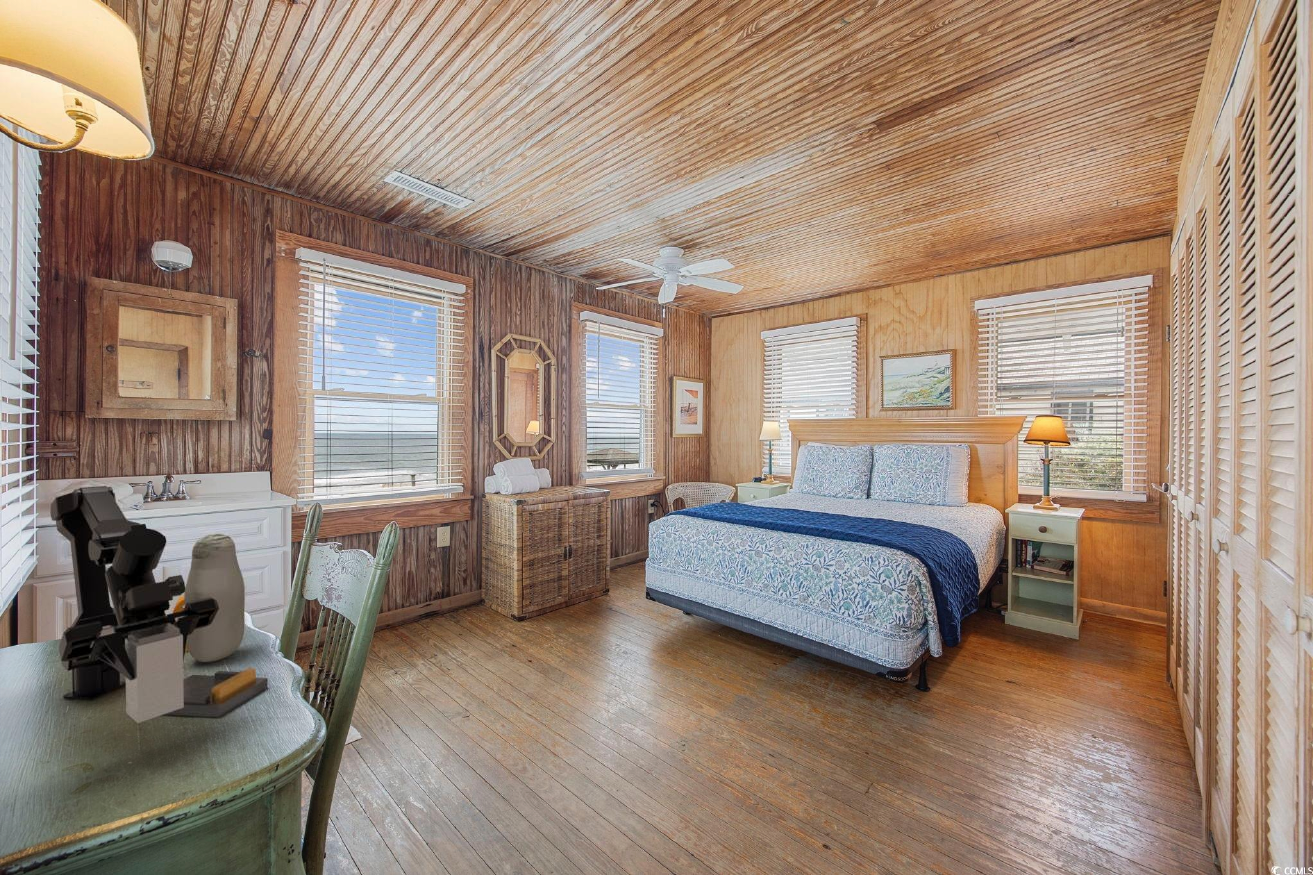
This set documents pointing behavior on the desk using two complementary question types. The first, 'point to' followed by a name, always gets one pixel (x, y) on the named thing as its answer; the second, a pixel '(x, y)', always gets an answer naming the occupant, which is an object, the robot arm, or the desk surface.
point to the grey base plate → (218, 692)
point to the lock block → (155, 672)
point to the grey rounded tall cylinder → (216, 597)
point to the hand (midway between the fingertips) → (157, 671)
